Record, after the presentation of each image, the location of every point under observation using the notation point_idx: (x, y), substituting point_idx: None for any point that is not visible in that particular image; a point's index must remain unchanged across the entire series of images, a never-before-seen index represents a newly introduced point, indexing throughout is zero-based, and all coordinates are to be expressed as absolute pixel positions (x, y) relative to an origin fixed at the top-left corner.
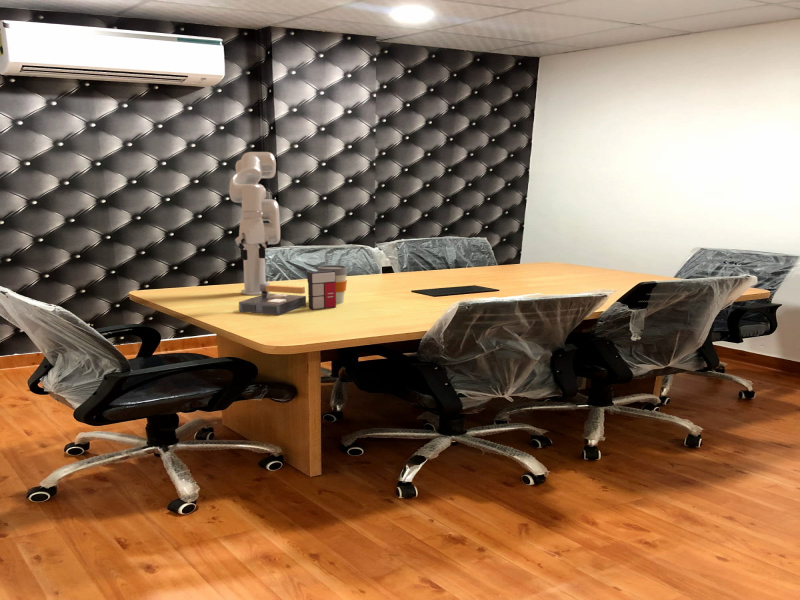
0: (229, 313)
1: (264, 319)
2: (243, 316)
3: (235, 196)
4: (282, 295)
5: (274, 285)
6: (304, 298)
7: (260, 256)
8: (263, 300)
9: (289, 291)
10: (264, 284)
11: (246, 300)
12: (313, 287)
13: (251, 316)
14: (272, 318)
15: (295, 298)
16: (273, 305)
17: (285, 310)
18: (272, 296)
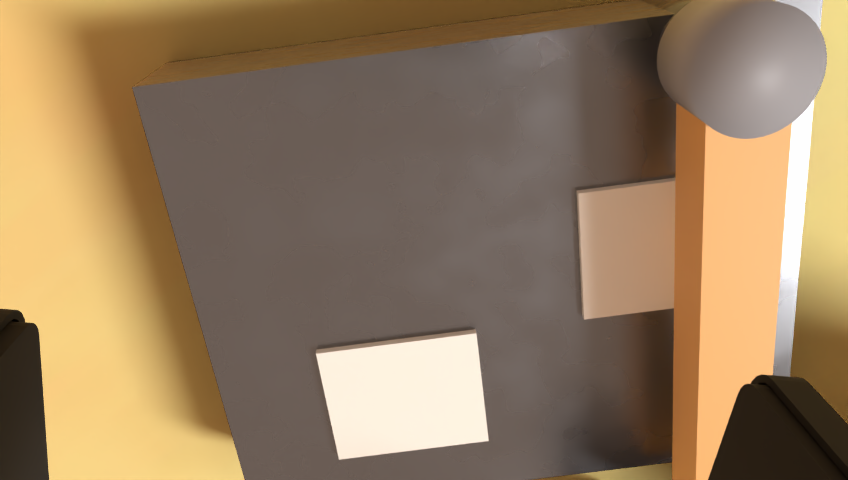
0: (46, 22)
1: (64, 453)
2: (35, 243)
3: None
4: None
5: (755, 222)
6: None
7: (740, 463)
8: (364, 265)
9: (679, 406)
10: (719, 102)
11: (260, 102)
12: None
13: (83, 301)
14: (134, 477)
15: (615, 447)
16: (242, 458)
17: None
18: (591, 225)
